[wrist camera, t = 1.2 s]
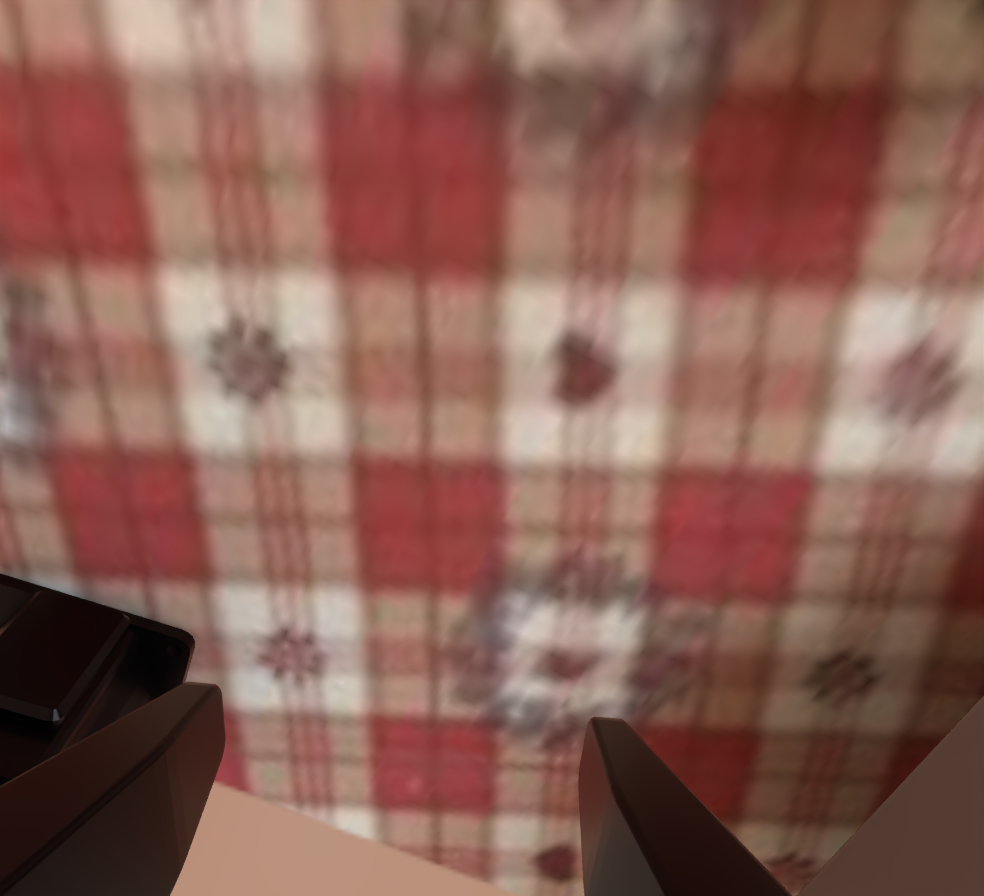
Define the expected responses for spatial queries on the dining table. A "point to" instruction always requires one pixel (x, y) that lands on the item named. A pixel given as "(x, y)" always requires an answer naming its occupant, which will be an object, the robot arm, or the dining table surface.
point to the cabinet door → (921, 829)
